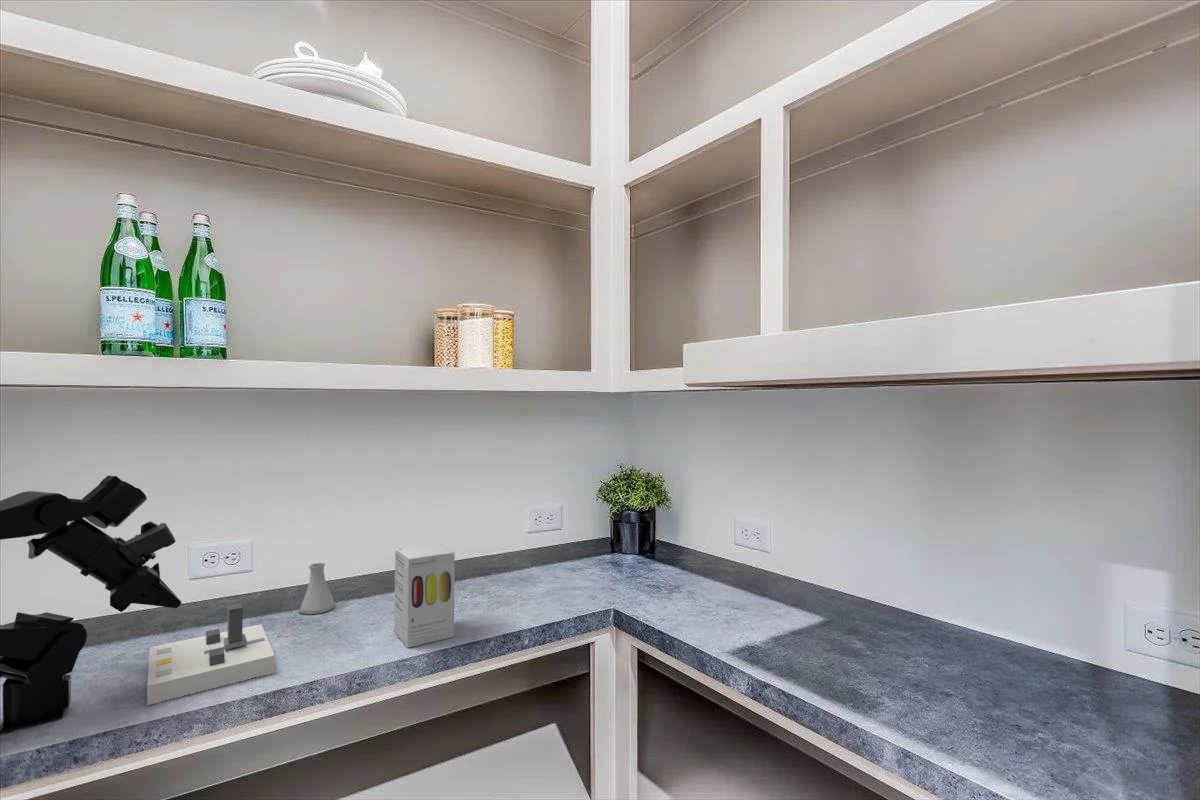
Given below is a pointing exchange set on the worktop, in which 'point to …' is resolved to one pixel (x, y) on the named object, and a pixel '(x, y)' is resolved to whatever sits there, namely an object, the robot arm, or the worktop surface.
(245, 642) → the handle
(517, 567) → the worktop surface
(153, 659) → the panel
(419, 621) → the supplement box
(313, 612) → the flask
